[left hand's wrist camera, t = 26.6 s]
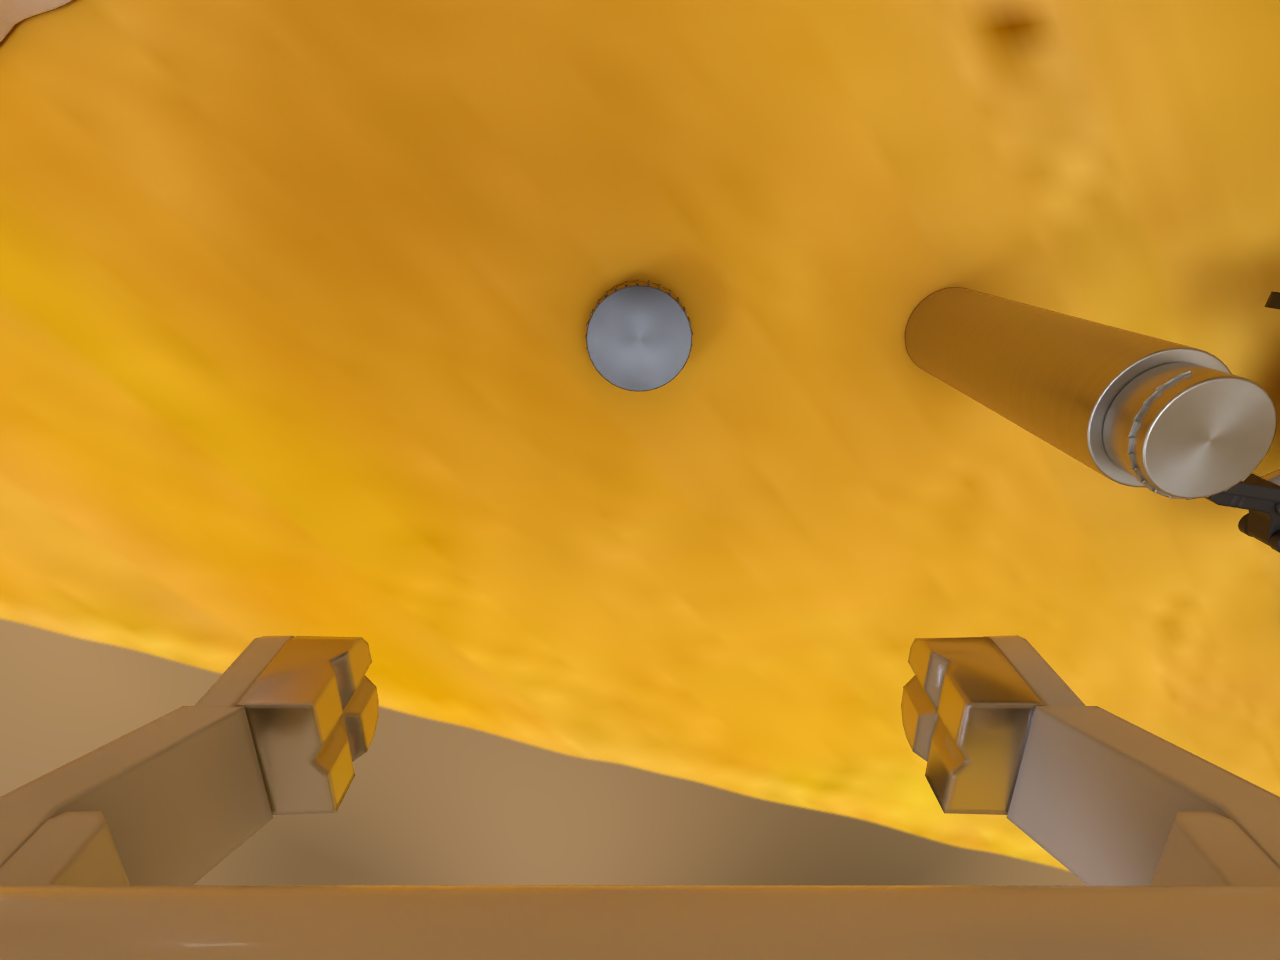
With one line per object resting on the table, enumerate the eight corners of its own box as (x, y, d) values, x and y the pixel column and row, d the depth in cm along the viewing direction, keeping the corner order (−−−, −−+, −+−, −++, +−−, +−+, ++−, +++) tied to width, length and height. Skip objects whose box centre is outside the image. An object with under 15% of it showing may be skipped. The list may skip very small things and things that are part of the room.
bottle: (886, 342, 38) (1093, 459, 21) (946, 269, 37) (1223, 328, 19) (949, 390, 39) (1197, 539, 22) (1009, 320, 38) (1328, 420, 20)
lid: (710, 316, 38) (714, 323, 36) (654, 401, 39) (655, 412, 37) (623, 258, 37) (622, 261, 34) (569, 348, 38) (565, 356, 36)
